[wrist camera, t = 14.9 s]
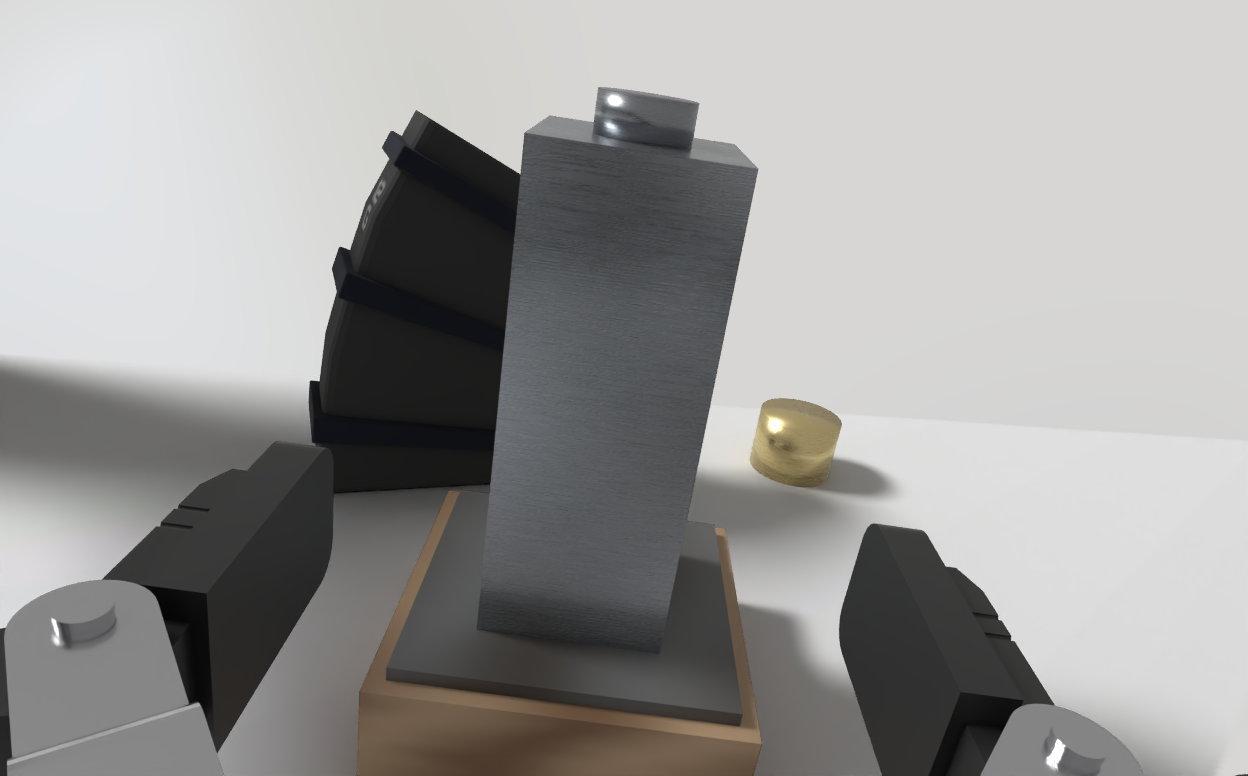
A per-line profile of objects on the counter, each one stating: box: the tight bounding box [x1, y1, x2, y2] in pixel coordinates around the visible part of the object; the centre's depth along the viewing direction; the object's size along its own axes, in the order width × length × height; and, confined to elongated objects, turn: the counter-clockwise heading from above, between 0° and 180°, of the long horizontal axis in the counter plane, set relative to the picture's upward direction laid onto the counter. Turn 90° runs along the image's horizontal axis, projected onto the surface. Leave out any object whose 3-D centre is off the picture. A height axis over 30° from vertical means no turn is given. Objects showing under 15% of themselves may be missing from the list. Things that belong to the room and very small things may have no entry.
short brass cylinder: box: [750, 398, 842, 487], centre depth 42 cm, size 4×4×3 cm
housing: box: [477, 87, 758, 654], centre depth 22 cm, size 5×5×14 cm
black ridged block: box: [309, 110, 520, 492], centre depth 35 cm, size 4×13×15 cm, turn 111°
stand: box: [357, 489, 762, 776], centre depth 25 cm, size 10×10×3 cm
